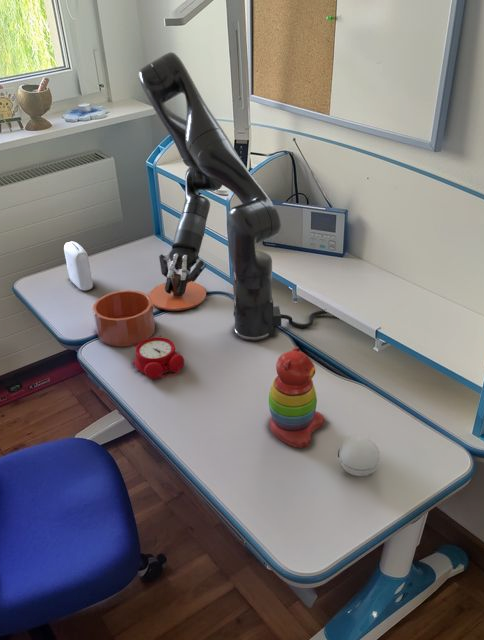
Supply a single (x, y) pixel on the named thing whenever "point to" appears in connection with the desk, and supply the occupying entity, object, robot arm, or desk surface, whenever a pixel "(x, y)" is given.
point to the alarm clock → (157, 357)
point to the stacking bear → (294, 400)
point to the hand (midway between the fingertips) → (173, 293)
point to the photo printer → (78, 265)
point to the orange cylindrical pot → (124, 318)
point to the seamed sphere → (359, 455)
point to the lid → (174, 301)
